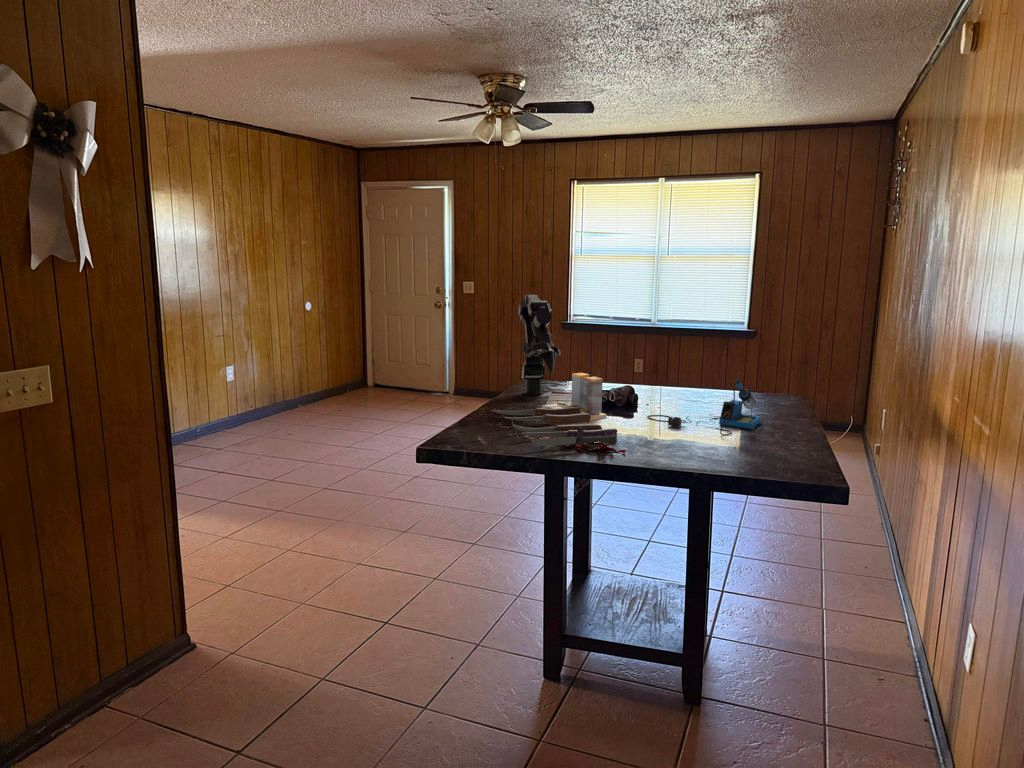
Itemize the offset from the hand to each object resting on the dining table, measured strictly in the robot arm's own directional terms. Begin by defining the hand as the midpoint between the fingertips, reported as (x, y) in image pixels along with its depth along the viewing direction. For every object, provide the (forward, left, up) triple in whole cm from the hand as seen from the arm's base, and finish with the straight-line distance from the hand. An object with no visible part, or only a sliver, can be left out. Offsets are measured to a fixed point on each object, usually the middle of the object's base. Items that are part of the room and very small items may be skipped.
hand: (551, 371), depth 260 cm
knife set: (+35, -26, -13) cm, 46 cm away
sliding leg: (+15, -2, -11) cm, 19 cm away
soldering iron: (+47, +28, -13) cm, 57 cm away
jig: (+14, -1, -13) cm, 19 cm away
